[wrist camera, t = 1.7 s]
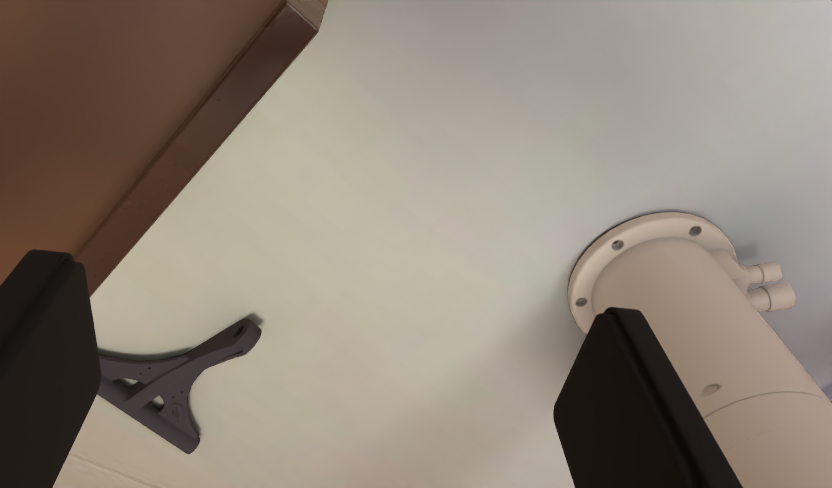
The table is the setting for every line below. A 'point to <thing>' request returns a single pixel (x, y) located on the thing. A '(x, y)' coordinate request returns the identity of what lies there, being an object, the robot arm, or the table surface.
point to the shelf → (124, 111)
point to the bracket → (171, 383)
